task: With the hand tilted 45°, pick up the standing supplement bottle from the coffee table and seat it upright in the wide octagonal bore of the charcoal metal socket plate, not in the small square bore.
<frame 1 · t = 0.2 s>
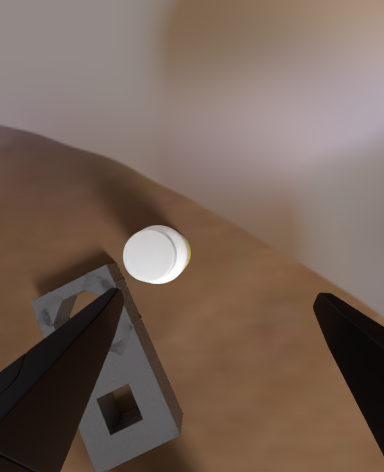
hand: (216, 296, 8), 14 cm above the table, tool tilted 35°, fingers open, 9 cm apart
socket plate: (112, 352, 22), on the table
supplement bottle: (170, 252, 23), on the table
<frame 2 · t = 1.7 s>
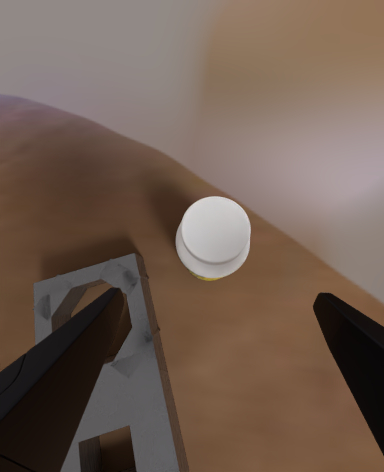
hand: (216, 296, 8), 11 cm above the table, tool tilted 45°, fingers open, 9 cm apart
socket plate: (113, 373, 17), on the table
supplement bottle: (208, 256, 20), on the table
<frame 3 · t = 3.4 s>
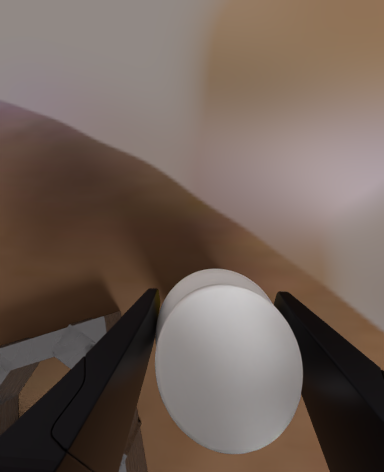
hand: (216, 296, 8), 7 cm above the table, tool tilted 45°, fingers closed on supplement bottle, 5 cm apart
supplement bottle: (209, 309, 14), on the table, touching gripper
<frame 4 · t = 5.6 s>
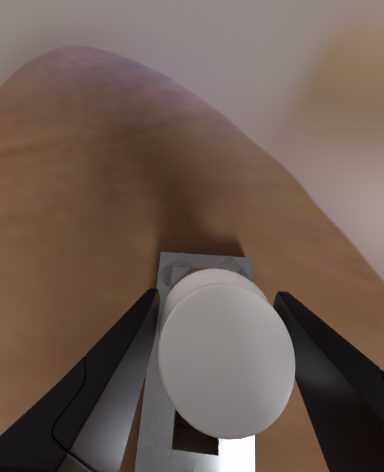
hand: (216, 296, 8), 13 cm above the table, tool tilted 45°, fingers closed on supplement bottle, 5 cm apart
socket plate: (200, 349, 19), on the table
supplement bottle: (208, 308, 15), point 6 cm above the table, touching gripper
when the fingers open (7 cm above the table, at t = 7.8 s): supplement bottle stays where it is, resting in socket plate.
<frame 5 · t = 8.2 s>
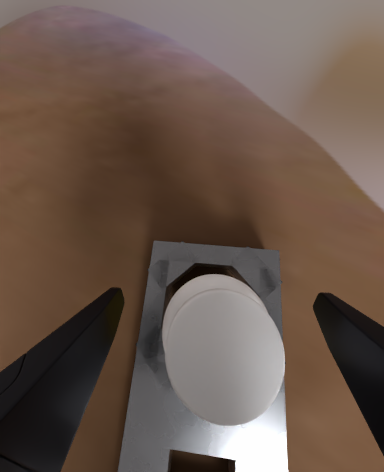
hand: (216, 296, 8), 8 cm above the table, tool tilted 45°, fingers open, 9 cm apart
socket plate: (205, 376, 14), on the table
supplement bottle: (209, 310, 15), resting in socket plate
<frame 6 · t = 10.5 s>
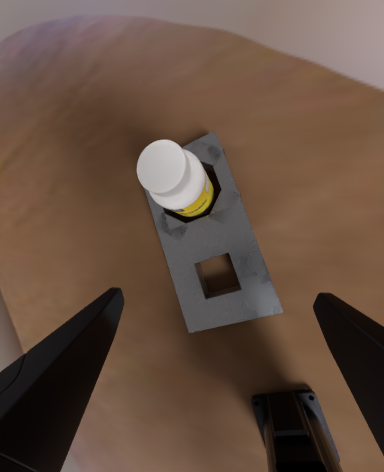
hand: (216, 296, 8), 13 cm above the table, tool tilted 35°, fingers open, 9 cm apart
socket plate: (206, 233, 22), on the table
supplement bottle: (194, 197, 23), resting in socket plate
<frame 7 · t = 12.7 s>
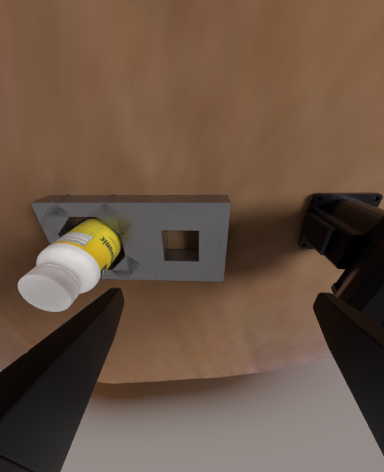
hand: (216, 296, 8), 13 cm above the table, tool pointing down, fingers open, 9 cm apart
socket plate: (142, 235, 22), on the table
supplement bottle: (105, 233, 22), resting in socket plate
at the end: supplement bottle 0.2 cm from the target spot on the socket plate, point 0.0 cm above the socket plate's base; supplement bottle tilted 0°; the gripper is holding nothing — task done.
